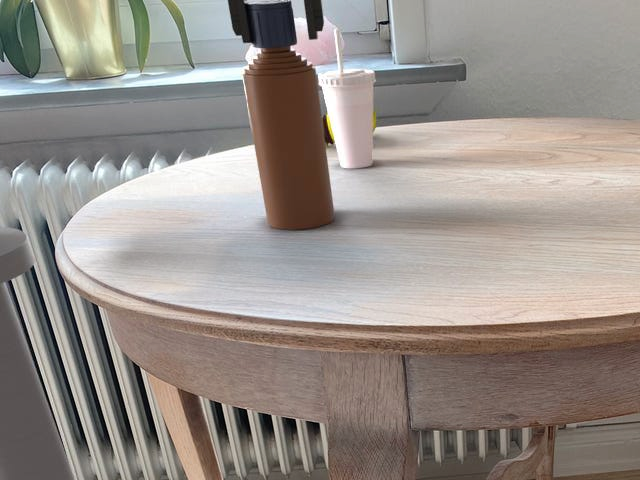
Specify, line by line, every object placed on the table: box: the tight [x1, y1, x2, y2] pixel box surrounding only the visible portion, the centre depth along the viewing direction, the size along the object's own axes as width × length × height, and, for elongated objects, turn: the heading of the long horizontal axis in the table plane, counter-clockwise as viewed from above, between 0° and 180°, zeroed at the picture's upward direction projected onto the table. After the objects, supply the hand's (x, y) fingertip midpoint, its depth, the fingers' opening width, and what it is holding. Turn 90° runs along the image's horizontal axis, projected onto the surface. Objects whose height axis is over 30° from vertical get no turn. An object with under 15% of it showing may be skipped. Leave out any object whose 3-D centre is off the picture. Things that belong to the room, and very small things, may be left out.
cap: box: [246, 0, 298, 49], centre depth 76 cm, size 4×4×3 cm
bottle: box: [241, 46, 336, 231], centre depth 80 cm, size 6×6×18 cm
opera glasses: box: [322, 106, 377, 147], centre depth 114 cm, size 10×5×5 cm, turn 167°
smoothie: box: [317, 28, 377, 169], centre depth 99 cm, size 6×6×14 cm
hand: (281, 39), depth 76 cm, fingers open, 5 cm apart
